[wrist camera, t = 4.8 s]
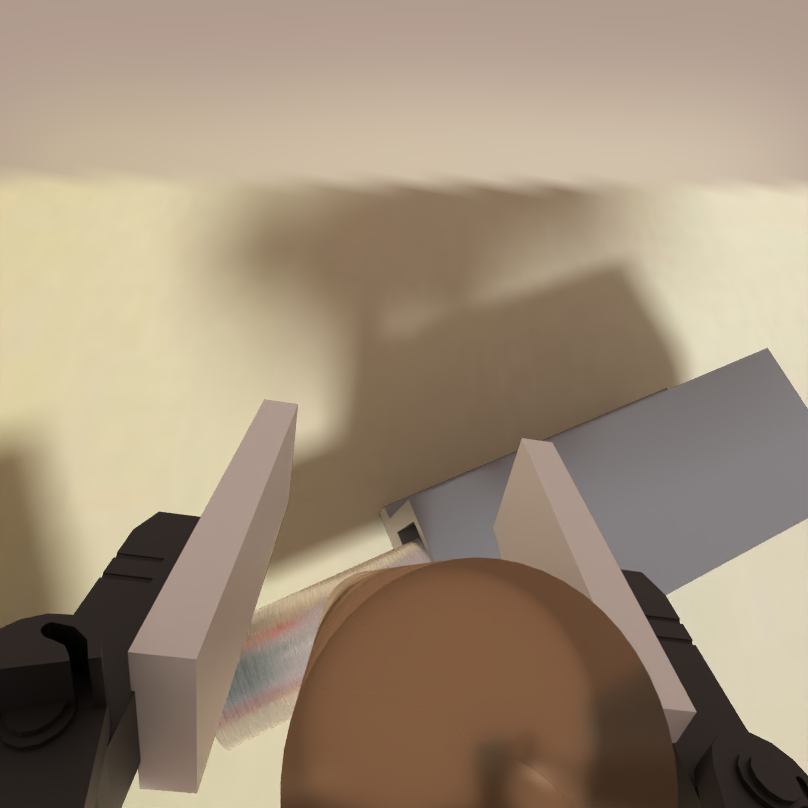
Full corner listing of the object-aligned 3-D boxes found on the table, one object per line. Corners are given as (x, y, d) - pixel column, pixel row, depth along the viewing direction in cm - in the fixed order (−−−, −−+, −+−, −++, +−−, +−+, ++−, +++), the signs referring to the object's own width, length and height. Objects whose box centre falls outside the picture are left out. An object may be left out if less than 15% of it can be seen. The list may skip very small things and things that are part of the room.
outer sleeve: (707, 525, 24) (870, 503, 17) (440, 662, 21) (498, 710, 13) (638, 404, 25) (759, 335, 18) (379, 513, 22) (401, 483, 15)
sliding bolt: (686, 509, 20) (1477, 360, 6) (241, 731, 16) (-405, 1826, 2) (646, 436, 21) (1270, 160, 7) (211, 629, 17) (-413, 908, 3)
